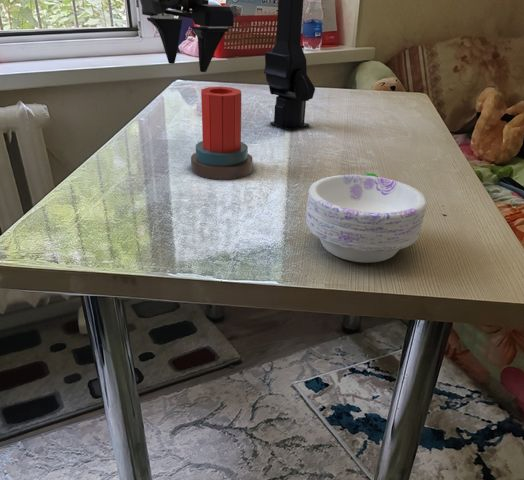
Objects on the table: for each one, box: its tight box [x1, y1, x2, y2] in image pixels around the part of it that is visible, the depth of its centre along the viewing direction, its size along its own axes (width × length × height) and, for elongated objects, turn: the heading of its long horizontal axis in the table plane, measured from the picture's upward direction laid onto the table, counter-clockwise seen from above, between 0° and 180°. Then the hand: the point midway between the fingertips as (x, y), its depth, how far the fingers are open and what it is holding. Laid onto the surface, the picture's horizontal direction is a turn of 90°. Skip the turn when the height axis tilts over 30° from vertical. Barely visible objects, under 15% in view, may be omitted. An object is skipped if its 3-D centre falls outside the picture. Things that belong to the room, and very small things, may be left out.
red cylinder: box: [200, 86, 242, 152], centre depth 93 cm, size 7×7×9 cm
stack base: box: [190, 140, 254, 181], centre depth 97 cm, size 11×11×4 cm
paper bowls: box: [305, 174, 428, 264], centre depth 73 cm, size 15×15×8 cm
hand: (187, 67), depth 98 cm, fingers open, 9 cm apart
